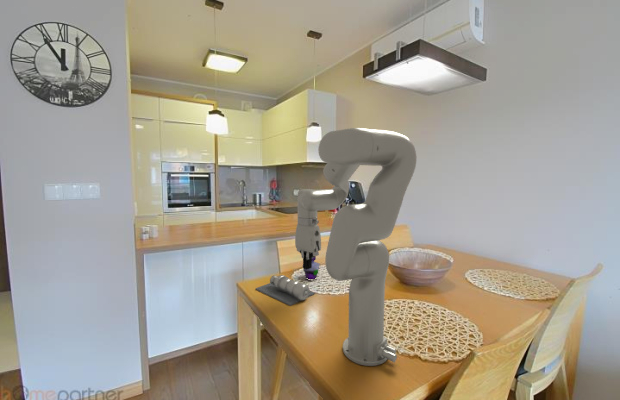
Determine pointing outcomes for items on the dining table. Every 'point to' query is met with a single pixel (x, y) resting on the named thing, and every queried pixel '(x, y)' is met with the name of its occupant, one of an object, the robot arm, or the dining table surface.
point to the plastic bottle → (290, 287)
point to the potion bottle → (312, 270)
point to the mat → (279, 294)
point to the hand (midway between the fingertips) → (307, 268)
